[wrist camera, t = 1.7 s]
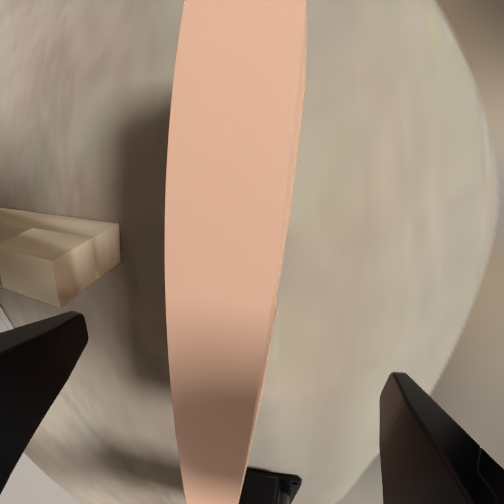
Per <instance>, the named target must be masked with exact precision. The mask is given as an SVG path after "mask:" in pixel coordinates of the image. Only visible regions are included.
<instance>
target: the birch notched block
mask: <svg viewBox="0 0 504 504" xmlns="http://www.w3.org/2000/svg"><path fill="white" fill-rule="evenodd" d="M119 262H121V256H120V236H119V223H112V222H105V221H97V220H90V219H82V218H75V217H67V216H60V215H52V214H45V213H37V212H29V211H22V210H14V209H6V208H0V277H1V282H2V286H3V287H4V288H6V289H9V290H12V291H14V292H17V293H19V294H22V295H25V296H27V297H30V298H33V299H35V300H38V301H41V302H44V303H47V304H49V305H52V306H55V307H58V308H62V307H63V306H64V305H65V304H67V303H68V302H69V301H70V300H72V299H73V298H74V297H75V296H77V295H78V294H79V293H80V292H82V291H83V290H84V289H85V288H87V287H88V286H89V285H91V284H92V283H93V282H94V281H96V280H97V279H98V278H100V277H101V276H102V275H103V274H105V273H106V272H107V271H109V270H110V269H111V268H113V267H114V266H115V265H117V264H118V263H119Z"/></svg>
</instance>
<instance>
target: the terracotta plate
mask: <svg viewBox="0 0 504 504" xmlns="http://www.w3.org/2000/svg"><path fill="white" fill-rule="evenodd" d="M305 82H306V0H185V2H184V8H183V14H182V20H181V27H180V34H179V41H178V48H177V55H176V63H175V72H174V80H173V90H172V100H171V111H170V123H169V136H168V151H167V170H166V195H165V299H166V324H167V342H168V358H169V371H170V383H171V394H172V404H173V414H174V423H175V431H176V439H177V447H178V454H179V461H180V468H181V474H182V481H183V487H184V493H185V498H186V504H238V503H239V499H240V495H241V490H242V486H243V481H244V477H245V473H246V468H247V464H248V459H249V454H250V450H251V445H252V440H253V436H254V431H255V426H256V421H257V417H258V412H259V407H260V402H261V397H262V391H263V386H264V380H265V374H266V368H267V362H268V357H269V351H270V345H271V339H272V332H273V326H274V320H275V314H276V301H277V294H278V288H279V281H280V274H281V268H282V261H283V254H284V247H285V241H286V236H287V231H288V225H289V218H290V211H291V203H292V195H293V188H294V180H295V172H296V163H297V155H298V147H299V138H300V129H301V120H302V111H303V102H304V92H305Z"/></svg>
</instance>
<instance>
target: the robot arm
mask: <svg viewBox="0 0 504 504" xmlns="http://www.w3.org/2000/svg"><path fill="white" fill-rule="evenodd" d="M87 342H88V332H87V327H86V322H85V318H84V316H83V315H82V314H81V313H77V312H74V311H70V312H67V313H63V314H60V315H57V316H54V317H50V318H47V319H44V320H40V321H37V322H34V323H31V324H27V325H24V326H21V327H17V328H14V329H11V330H7V331H4V332H1V333H0V494H1V492H2V490H3V488H4V487H5V485H6V483H7V481H8V479H9V477H10V475H11V473H12V471H13V469H14V468H15V466H16V464H17V462H18V460H19V459H20V457H21V455H22V453H23V452H24V450H25V448H26V446H27V445H28V443H29V441H30V439H31V438H32V436H33V434H34V433H35V431H36V429H37V428H38V426H39V424H40V423H41V421H42V419H43V418H44V416H45V415H46V413H47V411H48V410H49V408H50V407H51V405H52V403H53V402H54V400H55V399H56V397H57V396H58V394H59V393H60V391H61V389H62V388H63V386H64V385H65V383H66V382H67V380H68V378H69V376H70V375H71V373H72V371H73V369H74V367H75V365H76V363H77V361H78V359H79V357H80V356H81V354H82V352H83V350H84V348H85V346H86V344H87ZM380 458H381V471H382V484H383V503H384V504H504V469H503V468H502V467H501V466H500V465H499V464H497V463H496V462H495V461H494V460H493V459H492V458H491V457H490V456H489V455H488V454H487V453H486V452H485V451H484V450H483V449H482V448H480V446H479V445H478V444H477V443H476V442H475V441H474V440H473V439H472V438H471V437H470V436H469V435H468V434H467V433H466V432H465V431H464V430H463V429H462V428H461V427H460V426H459V425H458V424H457V423H456V422H455V421H454V420H453V419H452V418H451V417H450V416H449V415H448V414H447V413H446V412H445V411H444V410H443V409H442V408H441V407H440V406H439V405H438V404H437V403H436V402H435V401H434V400H433V399H432V398H431V397H430V396H429V395H428V394H427V393H426V392H425V391H424V390H423V389H422V388H421V387H420V386H419V385H418V384H416V383H415V382H414V381H413V380H412V379H411V378H410V377H409V376H408V375H407V374H406V373H402V372H393V373H391V374H390V375H389V377H388V380H387V382H386V384H385V386H384V388H383V390H382V393H381V396H380ZM301 482H302V479H301V478H299V477H294V476H285V475H277V474H270V473H263V472H256V471H250V470H246V473H245V477H244V481H243V486H242V490H241V495H240V499H239V503H238V504H291V502H292V501H293V499H294V497H295V495H296V493H297V491H298V490H299V488H300V486H301Z"/></svg>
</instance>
